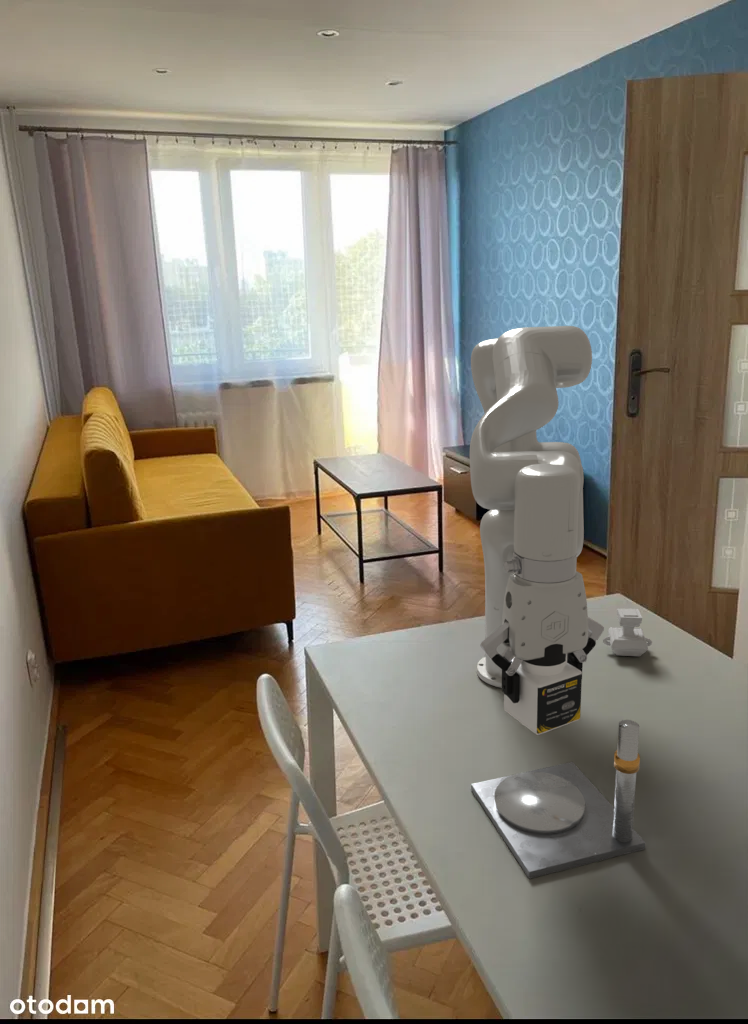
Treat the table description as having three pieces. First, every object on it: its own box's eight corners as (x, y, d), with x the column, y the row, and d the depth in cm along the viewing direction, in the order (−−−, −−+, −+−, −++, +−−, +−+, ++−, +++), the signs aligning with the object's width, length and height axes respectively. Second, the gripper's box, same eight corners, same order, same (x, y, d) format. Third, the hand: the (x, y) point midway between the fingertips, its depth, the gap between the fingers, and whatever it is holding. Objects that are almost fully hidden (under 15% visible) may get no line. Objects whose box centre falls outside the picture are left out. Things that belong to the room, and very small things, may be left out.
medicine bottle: (537, 736, 97) (539, 649, 93) (502, 710, 103) (503, 628, 100) (581, 720, 100) (584, 635, 97) (545, 696, 106) (547, 615, 103)
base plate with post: (471, 789, 110) (470, 682, 106) (572, 767, 114) (576, 663, 110) (528, 878, 94) (531, 756, 89) (644, 849, 98) (653, 730, 93)
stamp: (648, 645, 151) (651, 605, 148) (654, 661, 144) (657, 620, 142) (600, 643, 152) (602, 603, 150) (604, 659, 146) (606, 618, 144)
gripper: (492, 585, 90) (491, 719, 95) (624, 565, 94) (617, 694, 99) (467, 564, 97) (468, 689, 102) (591, 546, 101) (586, 668, 106)
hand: (541, 691), depth 101 cm, fingers closed on medicine bottle, 8 cm apart
